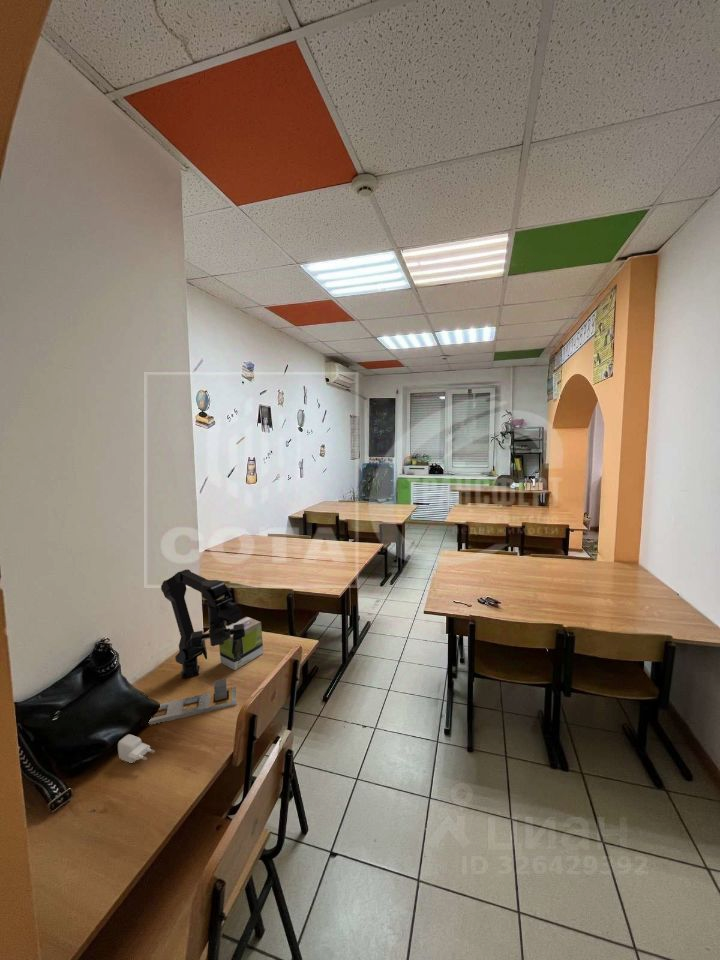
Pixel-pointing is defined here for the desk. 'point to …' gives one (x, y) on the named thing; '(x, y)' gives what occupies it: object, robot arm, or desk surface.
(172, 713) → the rail
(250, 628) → the tea box
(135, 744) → the power adapter
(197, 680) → the desk surface
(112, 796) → the desk surface
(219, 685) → the nut block
